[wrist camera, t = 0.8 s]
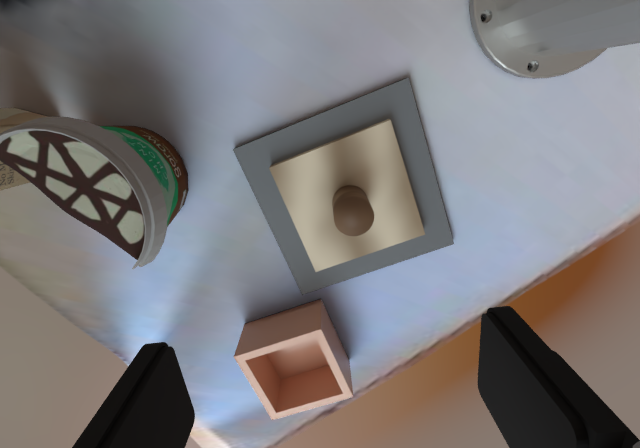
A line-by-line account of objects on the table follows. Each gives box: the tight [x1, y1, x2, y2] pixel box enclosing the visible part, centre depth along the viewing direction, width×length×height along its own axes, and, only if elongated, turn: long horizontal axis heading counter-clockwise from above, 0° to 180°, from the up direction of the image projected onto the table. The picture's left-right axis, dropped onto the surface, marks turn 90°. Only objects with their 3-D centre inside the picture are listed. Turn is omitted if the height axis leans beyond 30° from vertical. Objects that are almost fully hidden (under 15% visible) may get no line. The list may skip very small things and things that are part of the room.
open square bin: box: [234, 299, 353, 420], centre depth 36 cm, size 9×9×5 cm
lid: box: [269, 119, 425, 272], centre depth 29 cm, size 11×11×5 cm
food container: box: [0, 116, 188, 269], centre depth 26 cm, size 12×6×10 cm, turn 46°
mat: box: [233, 78, 454, 295], centre depth 32 cm, size 16×16×1 cm
